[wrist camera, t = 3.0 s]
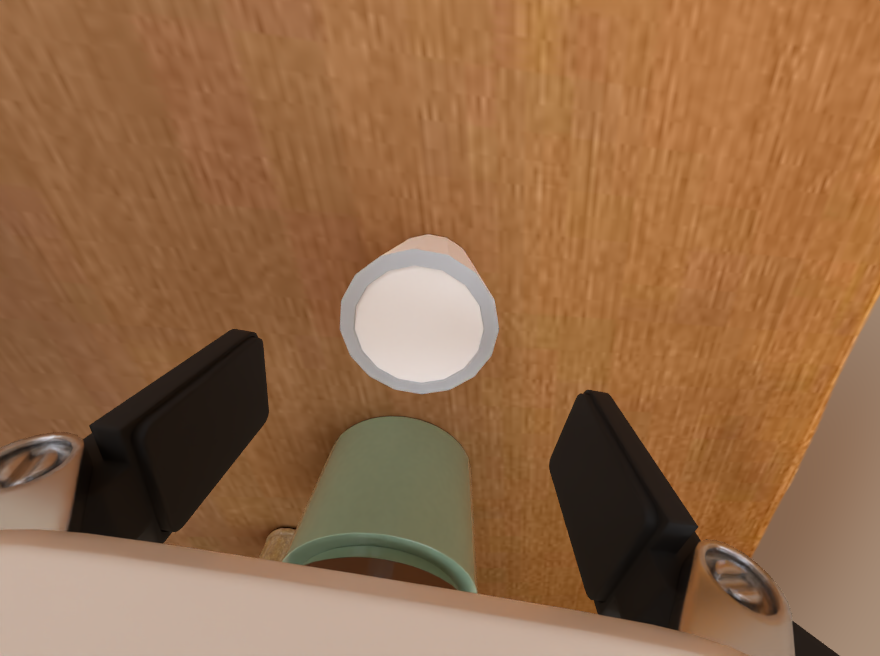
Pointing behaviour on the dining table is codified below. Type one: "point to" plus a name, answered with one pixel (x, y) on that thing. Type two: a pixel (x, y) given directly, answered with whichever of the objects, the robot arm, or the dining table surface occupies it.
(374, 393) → the dining table surface
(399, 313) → the white tapered cup
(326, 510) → the jar
